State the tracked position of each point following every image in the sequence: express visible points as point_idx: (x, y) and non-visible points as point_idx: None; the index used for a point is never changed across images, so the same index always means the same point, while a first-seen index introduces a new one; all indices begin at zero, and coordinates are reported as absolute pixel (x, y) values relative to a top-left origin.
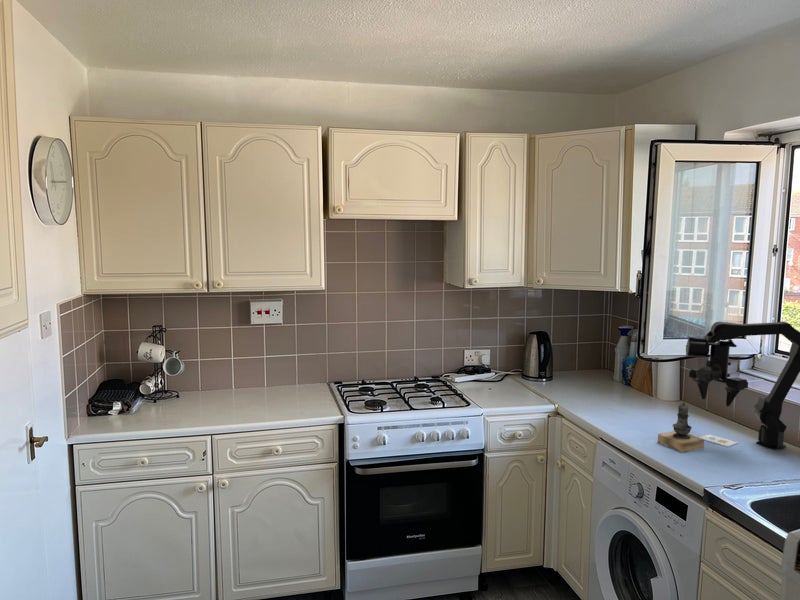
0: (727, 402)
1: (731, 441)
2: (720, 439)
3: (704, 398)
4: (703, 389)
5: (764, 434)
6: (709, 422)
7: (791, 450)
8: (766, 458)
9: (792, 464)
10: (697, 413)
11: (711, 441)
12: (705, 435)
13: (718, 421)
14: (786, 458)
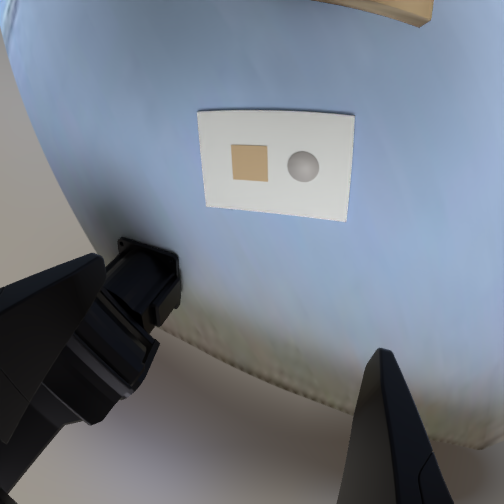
0: (60, 269)
1: (228, 197)
2: (270, 183)
3: (369, 366)
4: (375, 469)
5: (130, 276)
6: None
7: None
8: (81, 128)
9: (44, 150)
10: (442, 410)
11: (279, 113)
12: (348, 187)
13: None
14: (70, 185)
